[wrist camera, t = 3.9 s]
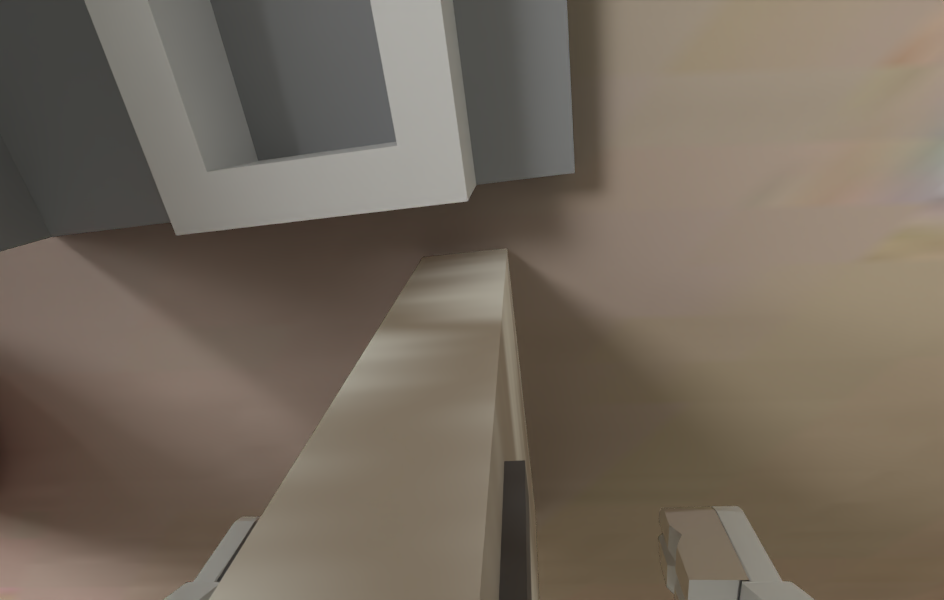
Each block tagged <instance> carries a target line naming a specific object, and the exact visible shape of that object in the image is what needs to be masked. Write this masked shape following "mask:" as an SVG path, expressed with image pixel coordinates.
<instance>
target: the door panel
mask: <svg viewBox="0 0 944 600" xmlns="http://www.w3.org/2000/svg"><path fill="white" fill-rule="evenodd" d="M209 600H539V579H538V555H537V532H536V512H535V503H534V493H533V484H532V475H531V465H530V456H529V447H528V438H527V428H526V419H525V410H524V400H523V391H522V382H521V373H520V363H519V354H518V345H517V335H516V326H515V317H514V308H513V298H512V289H511V280H510V270H509V261H508V252H507V248H506V249H496V250H486V251H476V252H467V253H457V254H447V255H437V256H427V257H423V258H422V259H421V261H420V263H419V264H418V266H417V267H416V269H415V271H414V272H413V274H412V275H411V277H410V279H409V280H408V282H407V283H406V285H405V287H404V288H403V290H402V291H401V293H400V295H399V296H398V298H397V299H396V301H395V303H394V304H393V306H392V307H391V309H390V311H389V312H388V314H387V315H386V317H385V319H384V320H383V322H382V323H381V325H380V327H379V328H378V330H377V331H376V333H375V335H374V336H373V338H372V339H371V341H370V343H369V344H368V346H367V347H366V349H365V351H364V352H363V354H362V355H361V357H360V359H359V360H358V362H357V363H356V365H355V367H354V368H353V370H352V371H351V373H350V375H349V376H348V378H347V379H346V381H345V383H344V384H343V386H342V387H341V389H340V391H339V392H338V394H337V395H336V397H335V399H334V400H333V402H332V403H331V405H330V407H329V408H328V410H327V411H326V413H325V415H324V416H323V418H322V419H321V421H320V423H319V424H318V426H317V427H316V429H315V431H314V432H313V434H312V435H311V437H310V439H309V440H308V442H307V443H306V445H305V447H304V448H303V450H302V451H301V453H300V455H299V456H298V458H297V459H296V461H295V463H294V464H293V466H292V467H291V469H290V471H289V472H288V474H287V475H286V477H285V479H284V480H283V482H282V483H281V485H280V487H279V488H278V490H277V491H276V493H275V495H274V496H273V498H272V499H271V501H270V503H269V504H268V506H267V507H266V509H265V511H264V512H263V514H262V515H261V517H260V519H259V520H258V522H257V523H256V525H255V527H254V528H253V530H252V531H251V533H250V535H249V536H248V538H247V539H246V541H245V543H244V544H243V546H242V547H241V549H240V551H239V552H238V554H237V555H236V557H235V559H234V560H233V562H232V563H231V565H230V567H229V568H228V570H227V571H226V573H225V575H224V576H223V578H222V579H221V581H220V583H219V584H218V586H217V587H216V589H215V591H214V592H213V594H212V595H211V597H210V599H209Z"/></svg>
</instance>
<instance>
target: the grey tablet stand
mask: <svg viewBox="0 0 944 600" xmlns="http://www.w3.org/2000/svg"><path fill="white" fill-rule="evenodd" d="M570 173H575V164H574V142H573V121H572V99H571V77H570V55H569V34H568V12H567V0H0V251H3V250H7V249H10V248H14V247H17V246H21V245H24V244H28V243H31V242H35V241H39V240H42V239H46V238H49V237H54V236H62V235H70V234H79V233H87V232H95V231H103V230H111V229H120V228H128V227H136V226H144V225H152V224H160V223H169V222H171V224H172V226H173V229H174V232H175V234H176V236H177V235H185V234H194V233H202V232H211V231H219V230H228V229H236V228H245V227H253V226H262V225H270V224H279V223H287V222H296V221H304V220H313V219H321V218H330V217H338V216H347V215H355V214H364V213H372V212H381V211H389V210H398V209H406V208H415V207H423V206H432V205H440V204H449V203H457V202H466V201H468V200H469V198H470V196H471V194H472V192H473V190H474V188H475V186H476V185H480V184H488V183H496V182H504V181H512V180H520V179H529V178H537V177H545V176H553V175H561V174H570Z"/></svg>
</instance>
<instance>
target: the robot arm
mask: <svg viewBox="0 0 944 600" xmlns="http://www.w3.org/2000/svg"><path fill="white" fill-rule="evenodd" d="M259 519H260V517H241V518H239V519H238V520H236V521H235V522H234V523H233V525H232V526H231V528H230V529H229V530H228V532H227V533H226V535H225V536H224V538H223V539H222V541H221V542H220V544H219V545H218V546H217V548H216V549H215V551H214V552H213V554H212V555H211V557H210V558H209V560H208V561H207V562H206V564H205V565H204V567H203V568H202V570H201V571H200V573H199V574H198V575H197V577H196V578H195V580H194V581H193V582H186V583H185V584H184V585H182V586H181V587H180V588H178V589H177V590H176V591H174V592H173V593H171V594H170V595H169V596H167V597H166V598H165V599H163V600H209V599H210V597H211V595H212V594H213V592H214V591H215V589H216V587H217V586H218V584H219V583H220V581H221V579H222V578H223V576H224V575H225V573H226V571H227V570H228V568H229V567H230V565H231V563H232V562H233V560H234V559H235V557H236V555H237V554H238V552H239V551H240V549H241V547H242V546H243V544H244V543H245V541H246V539H247V538H248V536H249V535H250V533H251V531H252V530H253V528H254V527H255V525H256V523H257V522H258V520H259ZM659 523H660V526H661V529H662V532H663V533H662V534H661V535H660V536H659V537H658V542H659V557H660V564H661V568H662V572H663V576H664V580H665V583H666V587H667V588H668V589H669V590H670V591H671V592H672V593H673V594H674V600H815V599H814V598H812V597H811V596H810V595H808V594H807V593H806V592H804V591H803V590H802V589H800V588H799V587H798V586H796V585H795V584H794V583H793V582H786V581H782V579H781V577H780V576H779V574H778V572H777V570H776V568H775V567H774V565H773V563H772V561H771V560H770V558H769V556H768V554H767V552H766V551H765V549H764V547H763V545H762V544H761V542H760V540H759V538H758V536H757V535H756V533H755V531H754V529H753V527H752V526H751V524H750V522H749V520H748V519H747V517H746V515H745V513H744V511H743V510H742V509H741V508H740V507H739V506H712V507H710V506H702V507H673V508H661V509H660V512H659Z"/></svg>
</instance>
